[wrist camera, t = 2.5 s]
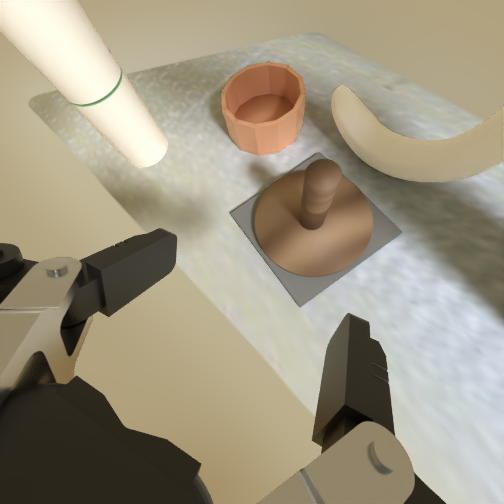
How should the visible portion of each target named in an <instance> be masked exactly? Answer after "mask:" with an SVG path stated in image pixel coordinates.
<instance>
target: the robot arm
mask: <svg viewBox="0 0 504 504" xmlns="http://www.w3.org/2000/svg"><path fill="white" fill-rule="evenodd" d="M176 249H177V237H176V235H175V234H173V233H171V232H168V231H166V230H164V229H161V228H159V229H156V230H154V231H152V232H150V233H148V234H142V235H137V236H133V237H131V238H129V239H126V240H124V242H120V243H118V244H115V246H111V247H108V248H106V249H104V250H102V251H99V252H97V253H95V254H93V255H90V256H88V257H86V258H84V259H82V260H79V261H78V260H77V259H74V258H70V257H56V258H51V259H47V260H44V261H42V262H36V261H30V260H26V259H23V257H22V255H21V252H20V250H19V248H18V247H17V246H15V245H12V244H5V243H0V504H213V501H212V499H211V496H210V494H209V492H208V490H207V488H206V486H205V484H204V483H203V481H202V480H201V478H200V477H199V476H198V473H199V470H200V467H201V463H199V462H198V461H197V460H195V459H194V458H192V457H191V456H190V455H188V454H187V453H185V452H184V451H182V450H181V449H180V448H178V447H177V446H175V445H174V444H173V443H171V442H170V441H168V440H167V439H164V438H159V437H156V436H153V435H149V434H146V433H142V432H139V431H135V430H131V429H128V428H126V427H125V426H124V425H123V424H122V422H121V421H120V419H119V418H118V416H117V415H116V413H115V412H114V410H113V408H112V407H111V405H110V404H109V402H108V401H107V399H106V397H105V396H104V395H103V394H102V393H101V392H99V391H98V390H96V389H95V388H93V387H92V386H91V385H89V384H88V383H86V382H85V381H83V380H82V379H81V378H79V377H78V376H75V377H74V369H75V363H76V361H77V358H78V355H79V353H80V350H81V348H82V345H83V343H84V341H85V338H86V336H87V333H88V331H89V328H90V326H91V323H92V321H93V314H95V313H96V312H98V311H99V312H101V313H102V314H104V315H106V316H108V317H110V316H111V315H112V314H114V313H115V312H116V311H118V310H119V309H121V308H122V307H123V306H125V305H126V304H127V303H129V302H130V301H132V300H133V299H134V298H136V297H137V296H139V295H140V294H141V293H143V292H144V291H146V290H147V289H148V288H150V287H151V286H152V285H154V284H155V283H156V282H158V281H160V280H161V279H162V278H164V277H165V276H166V275H168V274H169V273H170V272H171V271H172V270H173V268H174V266H175V263H176ZM388 382H389V379H388V372H387V361H386V355H385V353H384V351H383V349H382V347H381V345H380V343H379V342H378V341H376V340H374V339H372V338H370V325H369V322H368V321H366V320H363V319H361V318H359V317H357V316H354V315H352V314H350V313H348V314H347V315H346V316H345V317H344V319H343V320H342V322H341V324H340V325H339V327H338V328H337V330H336V331H335V333H334V335H333V336H332V338H331V340H330V342H329V344H328V347H327V350H326V355H325V362H324V368H323V374H322V380H321V386H320V393H319V399H318V405H317V411H316V417H315V424H314V430H313V437H312V441H314V442H315V443H317V444H319V445H320V446H322V452H321V455H320V456H319V457H317V458H316V459H315V460H314V461H312V462H311V463H310V464H309V465H307V466H306V467H305V468H303V469H301V470H299V471H298V472H297V473H295V474H294V475H293V476H291V477H290V478H289V479H288V480H286V481H285V482H284V483H282V484H281V485H280V486H279V487H277V488H276V489H275V490H273V491H272V492H271V493H270V494H268V495H267V496H266V497H265V498H263V499H262V500H261V501H260V502H258V503H257V504H446V503H445V502H444V501H443V500H442V499H441V498H440V497H439V496H438V495H437V494H435V493H434V492H433V491H432V490H431V489H430V488H429V487H428V486H427V485H426V484H425V483H424V482H423V481H422V480H421V479H420V478H419V477H418V476H417V475H416V474H415V473H414V470H413V467H412V464H411V461H410V458H409V456H408V454H407V452H406V451H405V449H404V447H403V446H402V445H401V443H400V442H399V440H398V439H397V438H396V437H395V432H394V423H393V414H392V406H391V397H390V388H389V384H388Z"/></svg>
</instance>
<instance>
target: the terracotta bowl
mask: <svg viewBox="0 0 504 504" xmlns="http://www.w3.org/2000/svg"><path fill="white" fill-rule="evenodd" d="M305 98H306V92H305V87H304V82H303V77H302V76H301V75H300V74H299V73H297V72H296V71H295V70H294V69H293V68H291V67H290V66H289V65H284V64H279V63H274V62H264V63H260V64H255V65H250V66H247V67H245V68H244V69H242V70H241V71H239V72H238V73H236V74H235V75H233V76H232V77H230V79H229V81H228V82H227V84H226V85H225V87H224V89H223V90H222V92H221V103H222V112H223V115H224V118H225V122H226V125H227V128H228V132H229V135H230V138H231V139H232V140H233V142H234V143H235V144H236V145H237V146H238V147H239V148H240V150H242V151H246V152H249V153H252V154H256V155H264V154H270V153H277V152H280V151H281V150H283V149H284V148H286V147H287V146H289V145H290V144H292V143H293V142H294V141H296V139H297V136H298V134H299V132H300V130H301V128H302V126H303V120H304V109H305Z"/></svg>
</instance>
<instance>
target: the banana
mask: <svg viewBox="0 0 504 504" xmlns="http://www.w3.org/2000/svg"><path fill="white" fill-rule="evenodd" d="M331 109H332V114H333V118H334V121H335V123H336V126H337V128H338V130H339V131H340V133H341V135H342V137H343V138H344V140H345V141H346V143H347V144H348V145H349V147H350V148H351V149H352V150H353V152H354V153H355V154H356V155H357V156H358V157H359V158H360V159H362V160H363V161H364V162H365V163H367V164H368V165H370V166H371V167H373V168H375V169H376V170H378V171H380V172H382V173H384V174H387V175H389V176H392V177H395V178H399V179H404V180H410V181H416V182H446V181H453V180H459V179H463V178H467V177H470V176H474V175H477V174H479V173H482V172H484V171H487V170H489V169H491V168H493V167H495V166H496V165H498V164H500V163H501V162H503V161H504V105H503V106H502V108H501V109H500V110H499V111H498V112H497V113H495V114H494V115H493V116H491V117H490V118H488V119H487V120H485V121H484V122H482V123H481V124H479V125H478V126H476V127H475V128H473V129H471V130H469V131H468V132H466V133H463V134H461V135H459V136H456V137H453V138H449V139H444V140H435V141H430V140H419V139H413V138H409V137H405V136H402V135H399V134H396V133H394V132H392V131H391V130H389V129H387V128H386V127H384V126H383V125H382V124H381V123H380V122H379V121H378V120H377V119H376V117H375V116H374V115H373V114H372V113H371V112H370V111H369V109H368V108H367V107H366V106H365V105H364V104H363V103H362V102H361V101H360V100H359V99H358V98H357V96H356V95H355V94H353V93H352V92H351V91H350V90H349V89H348V88H347V87H345V86H343V85H341V86H339V87H337V88H336V89H335V91H334V92H333V93H332V98H331Z"/></svg>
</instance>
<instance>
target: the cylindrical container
mask: <svg viewBox="0 0 504 504" xmlns="http://www.w3.org/2000/svg"><path fill="white" fill-rule="evenodd" d="M0 32H1V33H2V34H3V35H4V36H5V37H6V38H7V39H8V40H9V41H10V42H11V43H12V44H13V45H14V46H15V47H16V48H17V49H18V50H19V51H20V52H21V53H22V54H23V55H24V56H25V57H26V58H27V59H28V60H29V61H30V62H31V63H32V64H33V65H34V66H35V67H36V68H37V69H38V70H39V71H40V72H41V73H42V74H43V75H44V76H45V77H46V79H48V81H49V82H50V83H51V84H53V86H54V87H55V88H56V89H57V90H58V91H59V92H60V93H61V94H62V95H63V96H64V97H65V98H66V99H67V100H68V101H69V102H70V103H71V104H72V105H73V106H74V107H75V108H76V109H77V110H78V111H79V112H80V113H81V114H82V115H83V116H84V117H85V118H86V119H87V120H88V121H89V122H90V123H91V124H92V125H93V126H94V127H95V128H96V129H97V130H98V131H99V132H100V133H101V134H102V135H103V136H104V138H105V139H106V140H107V141H108V142H109V143H110V144H111V145H112V146H113V147H114V148H115V149H116V150H117V151H118V152H119V153H120V154H121V155H122V156H123V157H124V158H125V159H126V160H127V161H128V162H129V163H130V164H131V165H133V166H135V167H139V168H144V167H149V166H152V165H154V164H155V163H157V162H158V161H160V160H161V159H162V158H163V156H164V155H165V153H166V151H167V147H168V142H167V138H166V137H165V135H164V134H163V132H162V130H161V129H160V127H159V126H158V124H157V123H156V121H155V120H154V118H153V117H152V115H151V114H150V112H149V110H148V109H147V107H146V106H145V104H144V103H143V101H142V100H141V98H140V97H139V95H138V94H137V92H136V90H135V89H134V87H133V86H132V84H131V83H130V81H129V80H128V78H127V77H126V75H125V73H124V72H123V70H122V69H121V68H120V66H119V64H118V63H117V62H116V60H115V58H114V57H113V55H112V53H111V52H110V50H109V49H108V47H107V46H106V44H105V43H104V41H103V40H102V38H101V37H100V35H99V33H98V32H97V30H96V29H95V27H94V26H93V24H92V23H91V21H90V20H89V18H88V17H87V15H86V13H85V12H84V11H83V9H82V7H81V6H80V4H79V3H78V1H77V0H0Z"/></svg>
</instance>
